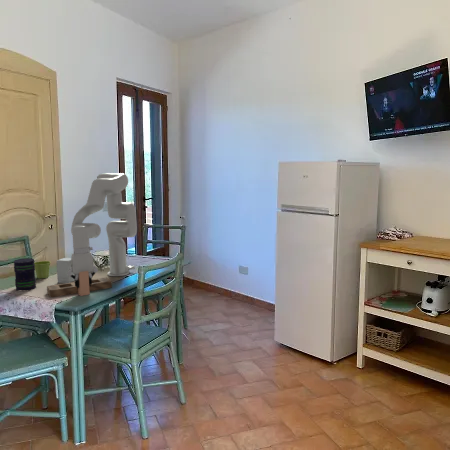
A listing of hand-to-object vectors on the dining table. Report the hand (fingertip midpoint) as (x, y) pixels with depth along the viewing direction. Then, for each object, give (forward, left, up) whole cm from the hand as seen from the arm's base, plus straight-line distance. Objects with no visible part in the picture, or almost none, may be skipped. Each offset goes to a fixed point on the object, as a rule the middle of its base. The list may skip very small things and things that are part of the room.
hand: (83, 286), depth 205 cm
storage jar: (+23, -28, -4) cm, 36 cm away
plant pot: (+12, -47, -4) cm, 48 cm away
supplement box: (+2, -30, -4) cm, 30 cm away
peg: (0, 0, -4) cm, 4 cm away
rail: (0, -8, -4) cm, 9 cm away
